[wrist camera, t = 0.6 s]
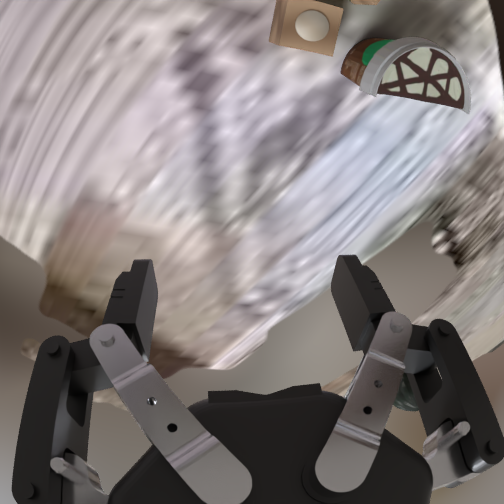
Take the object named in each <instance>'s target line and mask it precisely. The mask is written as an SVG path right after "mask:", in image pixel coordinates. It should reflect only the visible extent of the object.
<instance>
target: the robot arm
mask: <svg viewBox="0 0 504 504" xmlns="http://www.w3.org/2000/svg"><path fill="white" fill-rule="evenodd" d="M331 292H332V295H333V298H334V301H335V303H336V306H337V309H338V311H339V314H340V316H341V319H342V322H343V324H344V327H345V330H346V332H347V335H348V338H349V340H350V343H351V346H352V349H353V351H360V350H363V353H364V356H363V358H362V360H361V362H360V364H359V367H358V369H357V371H356V373H355V376H354V378H353V380H352V382H351V384H350V386H349V388H348V390H347V392H346V394H345V396H344V398H343V397H342V396H339V395H337V394H334V393H331V392H327V391H322V390H321V386H320V383H317V384H309V385H300V386H292V387H290V388H287V389H284V390H281V391H277V392H275V393H272V394H268V395H262V394H255V393H249V392H243V391H237V390H234V391H233V390H232V391H208V399H205V400H202V401H199V402H197V403H195V404H193V405H191V406H189V407H188V408H186V407H185V405H184V404H183V403H182V402H181V401H180V399H179V398H178V397H177V396H176V395H175V393H174V392H173V391H172V390H171V389H170V388H169V386H168V385H167V384H166V382H165V381H164V380H163V379H162V377H161V376H160V375H159V374H158V372H157V371H156V370H155V368H154V367H153V366H152V365H151V364H147V363H146V362H145V361H147V362H149V354H150V347H151V340H152V333H153V326H154V319H155V313H156V307H157V300H158V289H157V283H156V278H155V273H154V267H153V262H152V260H151V259H142V260H134V261H133V264H132V267H131V271H130V272H122V273H121V275H120V276H119V277H118V278H117V279H116V281H115V284H114V287H113V291H112V293H111V298H110V299H109V303H108V306H107V309H106V313H105V316H104V319H103V323H102V325H101V326H99V327H98V328H96V329H95V330H94V331H93V332H92V334H91V336H90V338H88V339H85V340H81V341H77V342H73V343H69V342H68V340H67V339H66V338H65V337H63V336H52V337H50V338H48V339H46V340H45V341H44V342H43V343H42V344H41V346H40V348H39V351H38V354H37V358H36V361H35V365H34V369H33V372H32V376H31V380H30V383H29V387H28V392H27V396H26V401H25V405H24V409H23V414H22V419H21V424H20V429H19V435H18V441H17V447H16V454H15V461H14V469H13V478H12V493H13V497H14V499H15V500H16V502H17V503H18V504H429V503H430V497H431V493H432V491H433V490H436V489H438V488H441V487H444V486H445V487H448V488H453V487H456V486H458V485H460V484H462V483H464V482H466V481H468V480H470V479H471V478H473V477H475V476H477V475H479V474H481V473H482V472H484V471H486V470H487V469H489V468H491V467H492V466H494V465H496V464H497V463H499V462H500V461H501V460H502V459H503V457H504V437H503V435H502V432H501V429H500V427H499V423H498V421H497V418H496V416H495V413H494V411H493V408H492V406H491V403H490V401H489V398H488V396H487V394H486V391H485V389H484V387H483V385H482V382H481V380H480V378H479V376H478V373H477V372H476V369H475V367H474V365H473V363H472V361H471V359H470V357H469V355H468V353H467V350H466V348H465V346H464V345H463V343H462V341H461V339H460V337H459V335H458V333H457V331H456V329H455V328H454V326H453V325H452V324H451V323H449V322H448V321H446V320H443V319H435V320H433V321H432V322H431V323H430V325H429V327H425V326H419V325H413V324H412V323H411V321H410V320H409V319H408V318H407V317H406V316H405V315H403V314H401V313H399V312H396V311H395V309H394V307H393V305H392V304H391V302H390V300H389V298H388V296H387V294H386V292H385V291H384V289H383V287H382V285H381V283H379V280H378V278H377V276H376V275H375V273H374V272H373V271H372V270H371V269H370V268H369V267H367V266H362V264H361V263H360V261H359V259H358V257H357V256H356V255H339V256H338V258H337V262H336V266H335V270H334V274H333V278H332V282H331ZM437 368H438V370H439V372H440V374H439V372H438V370H437ZM403 373H406V374H407V377H408V379H409V382H410V385H411V388H412V391H413V394H414V397H415V400H416V403H417V406H418V409H419V412H420V415H421V418H422V421H423V424H424V427H425V430H426V434H427V438H426V440H425V442H424V445H423V450H424V452H423V454H422V455H423V456H421V455H420V454H419V453H417V452H416V451H415V450H413V449H412V448H411V447H409V446H408V445H406V444H405V443H404V442H402V441H401V440H400V439H398V438H397V437H396V436H394V435H393V434H391V433H390V432H389V431H388V430H386V429H385V425H386V423H387V420H388V418H389V414H390V412H391V409H392V407H393V404H394V401H395V398H396V395H397V392H398V389H399V386H400V383H401V380H402V376H403ZM440 375H441V377H442V379H441V377H440ZM112 387H114V389H115V391H116V392H117V394H118V395H119V397H120V399H121V400H122V402H123V403H124V405H125V406H126V408H127V409H128V411H129V412H130V413H131V415H132V417H133V418H134V419H135V421H136V422H137V424H138V425H139V427H140V428H141V430H142V431H143V432H144V434H145V435H146V437H147V438H148V439H149V441H150V442H151V443H152V446H151V447H150V448H149V449H148V450H147V451H146V453H145V454H144V455H143V456H142V457H141V458H140V459H139V460H138V462H136V463H135V465H134V466H133V467H132V468H131V469H130V470H129V471H128V472H127V473H126V474H125V475H124V476H123V477H122V479H121V480H120V481H119V482H118V483H117V484H116V485H115V486H114V487H113V489H112V491H111V492H110V494H109V495H107V494H105V492H104V491H103V489H102V487H101V484H100V478H99V475H98V473H97V471H96V470H95V469H94V468H93V467H92V466H91V465H89V464H88V463H87V451H88V438H89V427H90V418H91V409H92V408H91V407H92V400H93V393H94V392H95V391H99V390H104V389H108V388H112Z"/></svg>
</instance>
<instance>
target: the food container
mask: <svg viewBox="0 0 504 504" xmlns="http://www.w3.org/2000/svg"><path fill="white" fill-rule="evenodd" d="M341 74H342V75H344V76H345V77H347V78H348V79H350V80H351V81H353V82H354V83H356V84H357V85H358V86H360V88H359V90H360V91H363V92H365V93H367V94H369V95H373V96H374V97H376V95H377V94H386V95H393V96H399V97H405V98H410V99H415V100H419V101H424V102H430V103H436V104H441V105H446V106H450V107H455V108H459V109H460V110H462V111H464V112H466V113H468V114H469V113H470V107H471V92H470V86H469V82H468V79H467V76H466V74H465V72H464V70H463V68H462V67H461V65H460V64H459V63H458V61H457V60H456V59H455V58H454V57H453V56H452V55H451V54H450V53H449V52H448V51H446V50H445V49H443V48H442V47H440V46H439V45H437V44H436V43H434V42H432V41H430V40H427V39H425V38H420V37H405V38H400V39H397V40H391V39H382V38H370V39H366V40H363V41H361V42H359V43H358V44H356V45H355V46H354V47H353V48H352V49H351V50H350V51H349V52H348V54H347V55H346V57H345V59H344V61H343V64H342V68H341Z"/></svg>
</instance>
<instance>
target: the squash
mask: <svg viewBox="0 0 504 504" xmlns="http://www.w3.org/2000/svg"><path fill="white" fill-rule="evenodd" d="M393 405H394V406H395V407H397V408H399V409H402V410H406V411H418V410H419V409H418V406H417V403H416V400H415V397H414V394H413V391H412V388H411V385H410V382H409V379H408V377H407V374H406V373H403V376H402V380H401V383H400V386H399V389H398V392H397V395H396V398H395V401H394V404H393Z"/></svg>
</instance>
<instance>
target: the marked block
mask: <svg viewBox="0 0 504 504" xmlns="http://www.w3.org/2000/svg"><path fill="white" fill-rule="evenodd" d="M342 13H343V8H340V7H336V6H333V5H329V4H326V3H322V2H318V1H314V0H276V6H275V11H274V16H273V21H272V26H271V32H270V37H269V42H272V43H274V44H277V45H279V46H285V47H290V48H296V49H301V50H305V51H310V52H315V53H319V54H323V55H328V56H332V57H333V53H334V49H335V44H336V40H337V36H338V31H339V27H340V22H341V18H342Z"/></svg>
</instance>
